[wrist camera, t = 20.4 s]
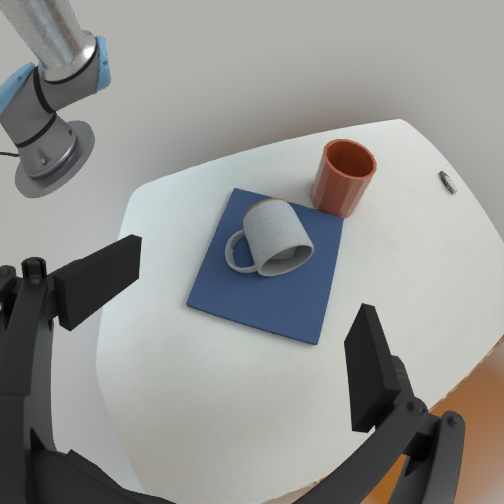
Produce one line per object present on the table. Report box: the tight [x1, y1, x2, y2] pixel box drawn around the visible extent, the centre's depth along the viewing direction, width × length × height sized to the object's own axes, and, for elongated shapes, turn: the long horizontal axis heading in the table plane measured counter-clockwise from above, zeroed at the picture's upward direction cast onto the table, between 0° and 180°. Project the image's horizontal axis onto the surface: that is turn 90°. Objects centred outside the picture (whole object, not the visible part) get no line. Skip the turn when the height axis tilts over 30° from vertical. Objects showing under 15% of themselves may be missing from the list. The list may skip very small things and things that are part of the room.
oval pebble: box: [440, 171, 457, 194], centre depth 49 cm, size 6×2×1 cm, turn 10°
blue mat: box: [186, 188, 344, 345], centre depth 41 cm, size 18×20×1 cm
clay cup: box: [311, 139, 377, 218], centre depth 42 cm, size 8×8×10 cm
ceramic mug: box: [225, 198, 314, 276], centre depth 37 cm, size 11×8×8 cm
